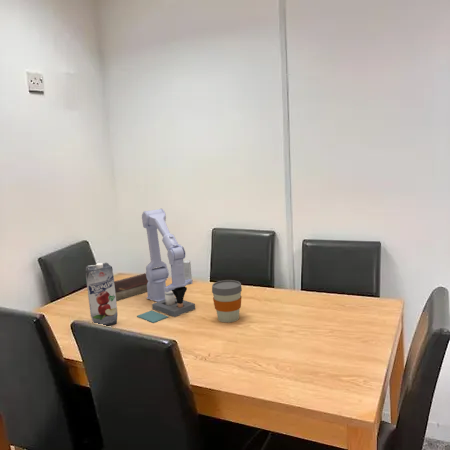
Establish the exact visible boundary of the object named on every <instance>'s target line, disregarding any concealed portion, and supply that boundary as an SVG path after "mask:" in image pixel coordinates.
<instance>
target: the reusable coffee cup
mask: <svg viewBox="0 0 450 450" xmlns="http://www.w3.org/2000/svg"><path fill="white" fill-rule="evenodd" d="M211 285H212V286H211V293H212V295H213V296H212V297H213V298H212V300H213V305H214V309H215V312H216V314H217V320H218V321H219V322H221V323H233V322H236V321H238V320H239V319H240V310H241V307H242V297H243V296H242V295H241V293H242V289H243V288H242V283H241V282H240V281H239V280H234V279H233V280H232V279H225V280H219V281H218V280H217V281H216V282H214V283H212V284H211Z"/></svg>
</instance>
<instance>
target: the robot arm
mask: <svg viewBox="0 0 450 450" xmlns="http://www.w3.org/2000/svg"><path fill="white" fill-rule="evenodd" d="M141 219H142V227H143V228H144V229H146V236H147V242H148V250H149V258H150V262H149V263H148V264H147V265H146V267H145V274H146V278H147V280H148V283H147V292H146V293H147V296H146V297H145V298H146V299H148V300H151V301H153V302H155V303H156V302H159V301H162V300H165V292H169V291H171V290H172V292H173V293H174V295H175V298H176V299H177V302H178V303H179V304H182V303H183V300H184V299H185V298H184V297H185V295H186V292H187V289H188V287H187V286H188V285H193V284H194V283H193V279H188V280H185V275H184V262H183V261H184V259H185V258H186V250H185V248H184V246H182V244H179V242H178V241H177V239H176V237H175V235H174V234H173V233H171V231H170V230H169V228H168V225H167V223H166V221H167V220H166V219H167V215H166V212H165V210H164V209H163V208H159V209H152V210H143V212H142V214H141ZM158 232H159V233H160V235H161V237H162V239H161V241H162V243H163V245H164V247H165V249H166V251H167V254H166V255H167V258H168V262H169V263H168V264H169V265H170V273H171V283H170V284H169V285H167V283H166V281H168V280H167V279H169V274H170V273H169V269H168V266H167V263H166V262H164V261H162V256H161V250H160V243H159V242H160V241H159V234H158Z"/></svg>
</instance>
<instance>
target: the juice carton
mask: <svg viewBox="0 0 450 450" xmlns="http://www.w3.org/2000/svg"><path fill="white" fill-rule="evenodd" d="M85 279H86V288H87V298H88V304H89V313H90V318H91V320H92V323H93V322H94V323H98V324H103V325H108V326H112V325H116V324H117V321H118V305H117V301H116V294H115V285H114V281H115V278H114V272H113V266H111V265H110V264H109V263H108V262H97V263H96V264H91V265H87V266H85ZM94 323H93V324H94Z"/></svg>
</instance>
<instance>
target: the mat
mask: <svg viewBox="0 0 450 450" xmlns="http://www.w3.org/2000/svg"><path fill="white" fill-rule="evenodd" d="M136 317H137V318H139V319H142V320H144V321H146V322H149V323H152V324H155V323H158V322H160V321H163V320H166V319H168V318H169V315H167V314H164V313H161V312H158V311H156V310H153V309H152V310H149V311H146V312H143V313H140V314H138V315H136Z"/></svg>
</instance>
